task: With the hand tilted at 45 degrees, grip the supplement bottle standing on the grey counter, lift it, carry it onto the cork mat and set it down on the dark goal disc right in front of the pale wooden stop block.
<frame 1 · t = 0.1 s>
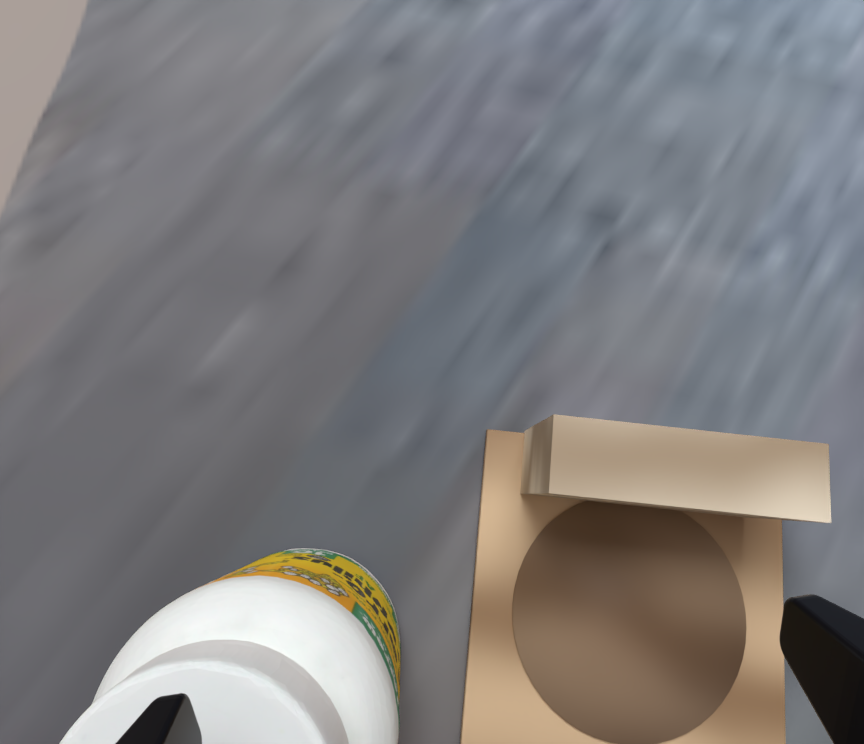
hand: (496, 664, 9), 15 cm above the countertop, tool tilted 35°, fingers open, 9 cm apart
supplement bottle: (308, 642, 23), on the countertop
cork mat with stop: (623, 653, 23), on the countertop
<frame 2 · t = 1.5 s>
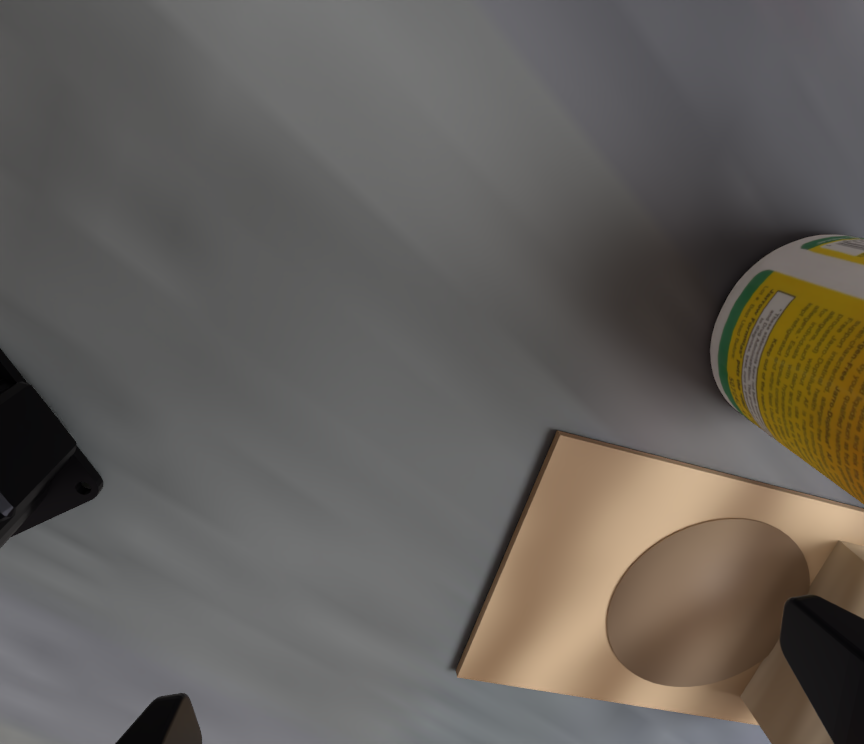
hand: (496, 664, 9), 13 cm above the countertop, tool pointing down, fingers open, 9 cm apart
supplement bottle: (791, 329, 22), on the countertop
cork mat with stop: (673, 593, 26), on the countertop
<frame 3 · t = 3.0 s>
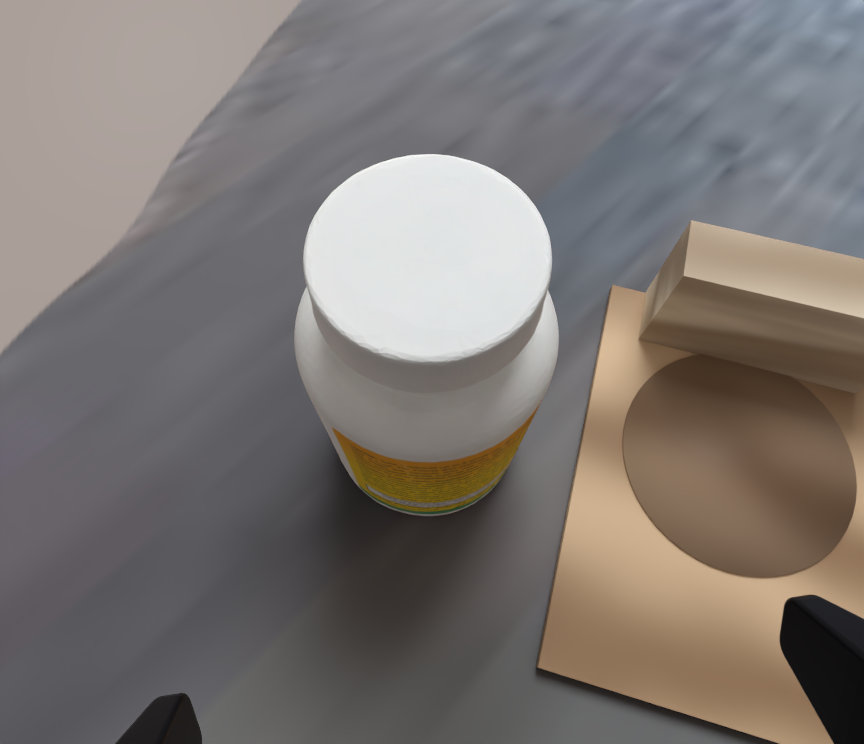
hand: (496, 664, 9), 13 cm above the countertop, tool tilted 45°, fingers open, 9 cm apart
supplement bottle: (427, 433, 25), on the countertop
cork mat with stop: (729, 495, 23), on the countertop
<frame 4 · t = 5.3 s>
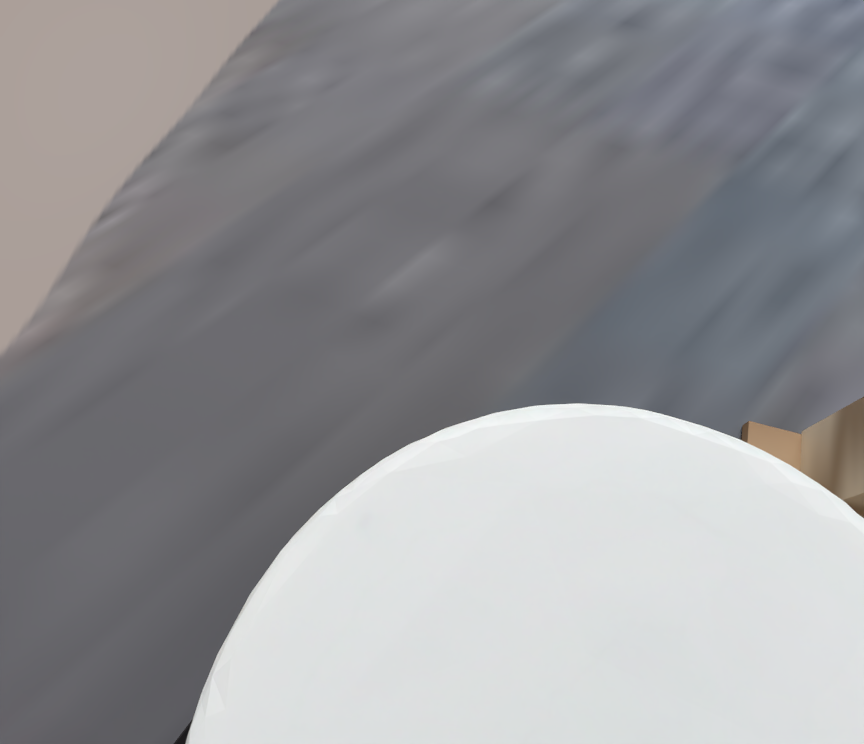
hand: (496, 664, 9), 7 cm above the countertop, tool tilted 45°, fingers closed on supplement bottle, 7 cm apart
supplement bottle: (472, 678, 15), on the countertop, touching gripper
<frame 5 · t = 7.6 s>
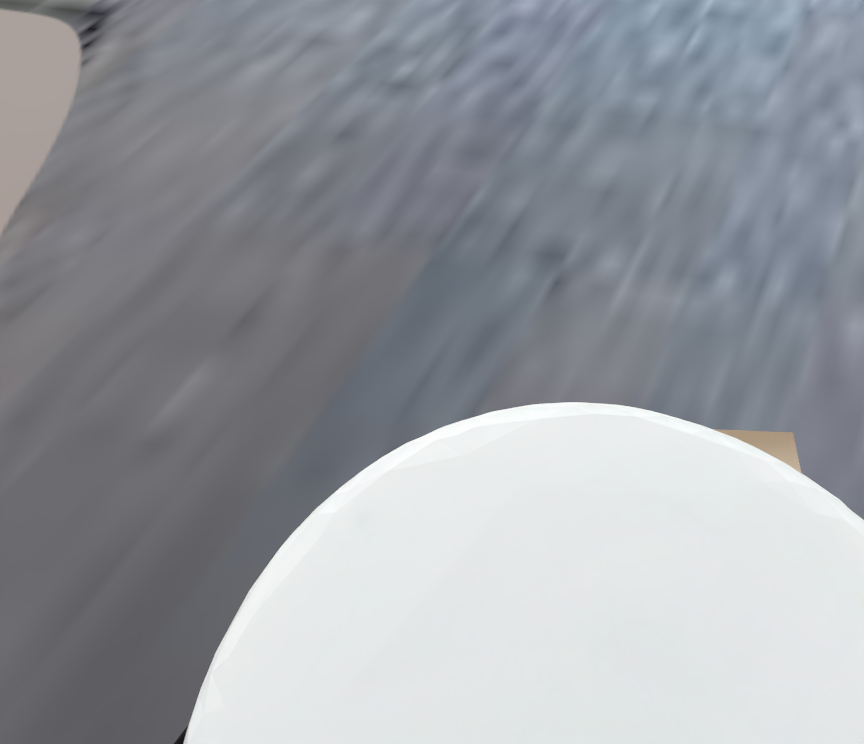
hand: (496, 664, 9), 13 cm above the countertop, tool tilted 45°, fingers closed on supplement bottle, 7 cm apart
supplement bottle: (470, 676, 15), point 6 cm above the countertop, touching gripper
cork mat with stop: (617, 703, 20), on the countertop
when the fingers open (8 cm above the countertop, at t = 9.9 s): supplement bottle stays where it is, resting on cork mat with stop.
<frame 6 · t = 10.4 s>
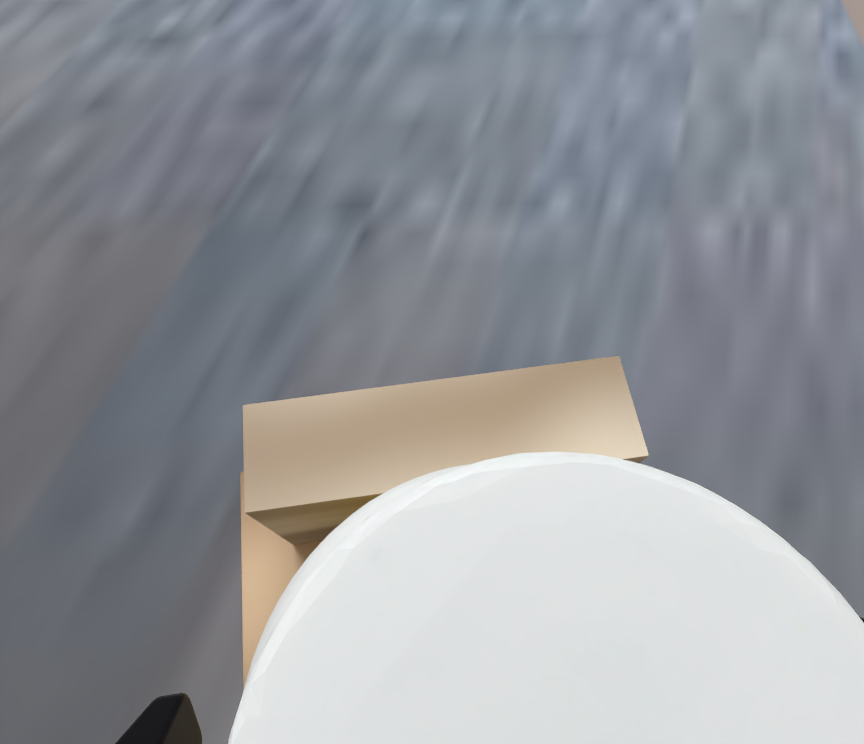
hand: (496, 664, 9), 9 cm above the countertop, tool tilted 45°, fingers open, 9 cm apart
supplement bottle: (471, 683, 16), resting on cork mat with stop
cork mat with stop: (477, 737, 16), on the countertop
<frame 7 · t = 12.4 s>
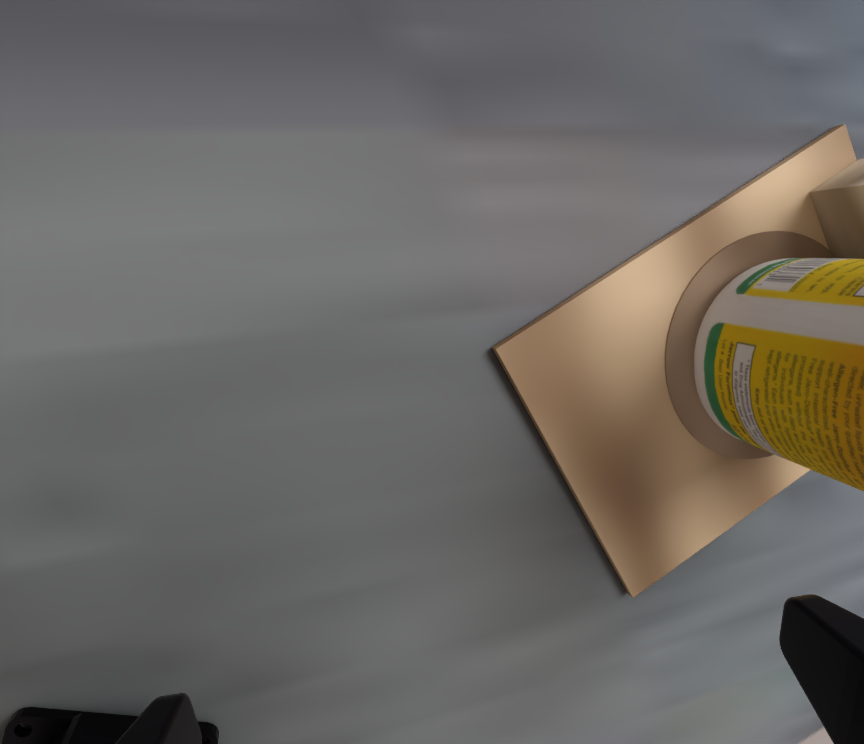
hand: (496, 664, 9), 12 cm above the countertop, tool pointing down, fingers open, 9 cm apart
supplement bottle: (760, 351, 24), resting on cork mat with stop
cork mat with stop: (728, 367, 24), on the countertop
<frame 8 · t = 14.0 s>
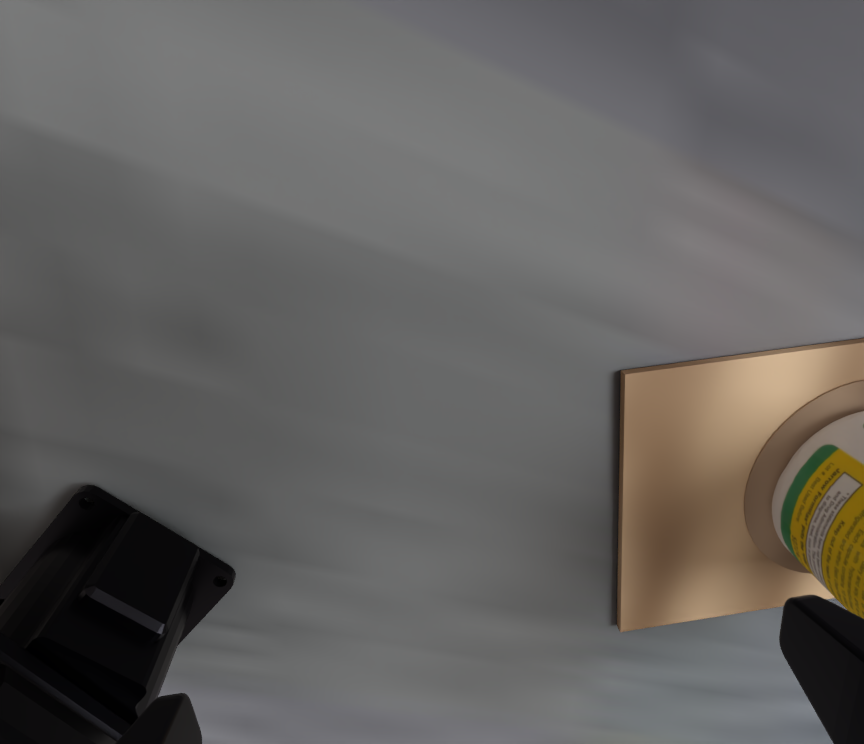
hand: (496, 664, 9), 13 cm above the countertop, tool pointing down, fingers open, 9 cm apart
supplement bottle: (845, 482, 24), resting on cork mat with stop
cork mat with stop: (808, 481, 24), on the countertop
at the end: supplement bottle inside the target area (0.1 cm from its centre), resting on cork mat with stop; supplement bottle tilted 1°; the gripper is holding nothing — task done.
